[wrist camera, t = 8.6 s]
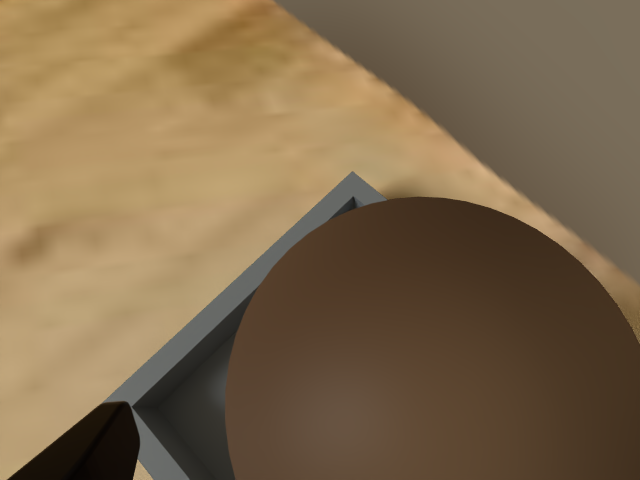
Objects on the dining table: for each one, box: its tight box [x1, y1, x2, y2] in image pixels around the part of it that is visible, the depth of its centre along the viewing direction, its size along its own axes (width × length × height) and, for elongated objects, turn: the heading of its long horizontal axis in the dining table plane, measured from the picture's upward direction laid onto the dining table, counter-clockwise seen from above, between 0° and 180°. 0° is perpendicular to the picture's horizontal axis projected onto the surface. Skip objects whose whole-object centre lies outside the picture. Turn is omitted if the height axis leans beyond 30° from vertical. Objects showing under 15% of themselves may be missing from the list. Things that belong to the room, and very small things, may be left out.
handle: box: [225, 197, 640, 480], centre depth 11 cm, size 7×7×13 cm
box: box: [103, 171, 387, 480], centre depth 16 cm, size 13×13×3 cm
